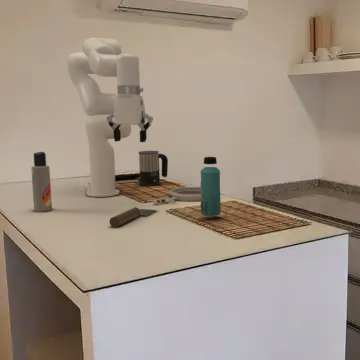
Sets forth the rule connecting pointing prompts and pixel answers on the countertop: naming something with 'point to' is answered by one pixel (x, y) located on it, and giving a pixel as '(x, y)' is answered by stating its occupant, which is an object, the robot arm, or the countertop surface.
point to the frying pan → (183, 195)
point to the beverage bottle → (210, 188)
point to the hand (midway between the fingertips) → (130, 141)
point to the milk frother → (151, 167)
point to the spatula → (129, 216)
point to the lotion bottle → (41, 183)
